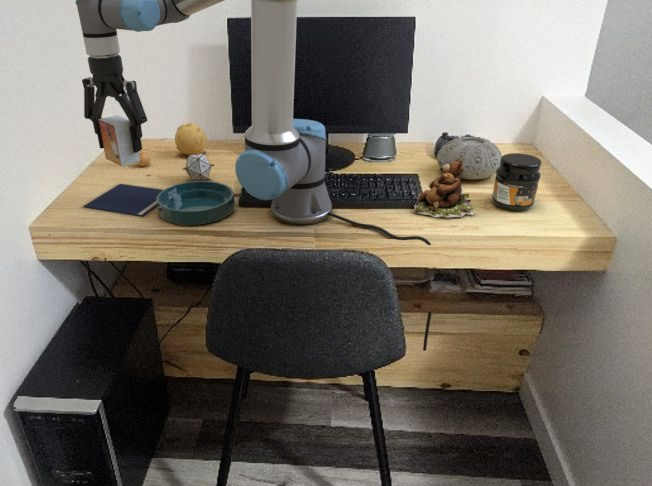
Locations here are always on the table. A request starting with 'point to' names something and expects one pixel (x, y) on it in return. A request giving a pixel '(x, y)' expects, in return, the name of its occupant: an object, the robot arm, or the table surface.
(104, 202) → the book
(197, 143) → the stress ball
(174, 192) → the bowl
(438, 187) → the bear figurine
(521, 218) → the table surface
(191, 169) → the game die
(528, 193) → the supplement container
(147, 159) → the figurine
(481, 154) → the decorative shell
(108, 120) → the small box
